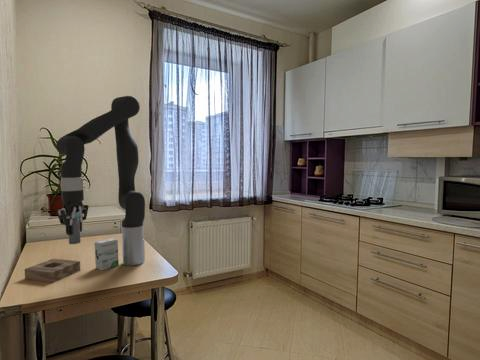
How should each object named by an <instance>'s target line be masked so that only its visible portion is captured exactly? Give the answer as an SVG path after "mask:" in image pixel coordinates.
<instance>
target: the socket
mask: <svg viewBox="0 0 480 360" xmlns="http://www.w3.org/2000/svg"><path fill="white" fill-rule="evenodd" d="M80 271H81V260H80V261H79V260H71V259H64V258H62V259H61V258H52V259H49V260H46V261H44V262H43V261H42V262H40V263H38V264H34V265H32V266H29V267H26V268H24V280H30V279H31V280H32V281H38V282H44V283H45V282H46V283H55V282H57V281H60V280H62V279H64V278H67V277H69V276H71V275H73V274H75V273H77V272H80ZM31 280H30V281H31Z"/></svg>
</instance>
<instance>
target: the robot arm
mask: <svg viewBox="0 0 480 360" xmlns="http://www.w3.org/2000/svg"><path fill="white" fill-rule="evenodd" d="M140 107H141V106H140V102H139V101H138V99H137V98H136V97H135V96H133V95H124V96H119V97H115V98H114V99H112V102H111V107H110V108H111V110H109V111H108V112H105V113H102V114H101V115H99V116H96V117H95V118H93V119H90V120H89V121H88V122H86V123H84V124H83V125H82V126H80V127H79V128H77V129H76V130H73V131H71V132H68V133H66V134H65V135H63V136H61V137H60V138H58V140H57V142H56V143H55V144H56V145H55V148H56V150H57V152H58V153H59V154H61V155H64V156H65V161H64V162H62V163H61V165H60V178H61V179H60V192H61V195H60V196H61V202H62V203H63V205H62V208H61V209H57V210H56V215H57V218H58V220H59V224H60V225H62V226H63V225H64V226H65V234H66V236H69V235H72V234H73V227H72V222H73V219H74V216H75V212H79V213H80V217H79V219H80V233H82V231H83V223H84V221H86V220H87V216H88V212H89V205H87V204H83V201H84V199H85V198H84V197H85V196H84V181H83V173H82V172H83V169H82V165H83V162H84V156H85V150H86V149H85V145H87V144H91V143H93V142H94V141H96V140H97V139H99V138H100V137H101V136H103V135H104V134H105V133H106V132H108V131H110V130H112V128H114V135H115V145H116V146H115V148H116V163H117V174H118V195H117V196H118V199H117V201H118V204H119V206H120V208H121V209H122V210H124V213H125V214H124V215H125V216H124V218H123V219H122V220H121V235H122V236H121V239H122V240H121V243H122V244H121V245H122V264H123V266H128V267H129V266H139V265H141V264H143V263H144V262H145V260H146V259H145V256H146V255H145V240H144V221H145V215H146V212H145V211H146V199H145V196H144V195H143V193H142V192H140V191H137V190H136V186H135V178H136V173H137V170H138V165H139V147H138V144H137V142H136V140H135V138H134V137H133V135H132V132H131V129H130V125H129V123H130V122H129V119H131V118H134V117H135V116H137V115H138V113H139V112H140V110H141V108H140ZM67 215H68V216H70V217H68V216H67ZM68 219H69V222H68Z"/></svg>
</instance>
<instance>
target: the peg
mask: <svg viewBox="0 0 480 360" xmlns="http://www.w3.org/2000/svg"><path fill="white" fill-rule="evenodd" d="M67 216H68V215H67ZM68 217H70V216H68ZM79 217H80V213H79V212H75V216H74V219H73V222H72V227H73V234H72V235H68V244H69V245H77V244H78V245H79V244H80V243H81V232H80V219H79ZM68 222H69V219H68Z"/></svg>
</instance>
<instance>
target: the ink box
mask: <svg viewBox="0 0 480 360" xmlns="http://www.w3.org/2000/svg"><path fill="white" fill-rule="evenodd" d="M118 243H119V242H118V239H116V238H107V239H104V240H100V241H94V255H95V256H94V257H95V269H97V270H99V271H103V270H107V269H111V268H114V267H117V266H120V264H119V244H118Z"/></svg>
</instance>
